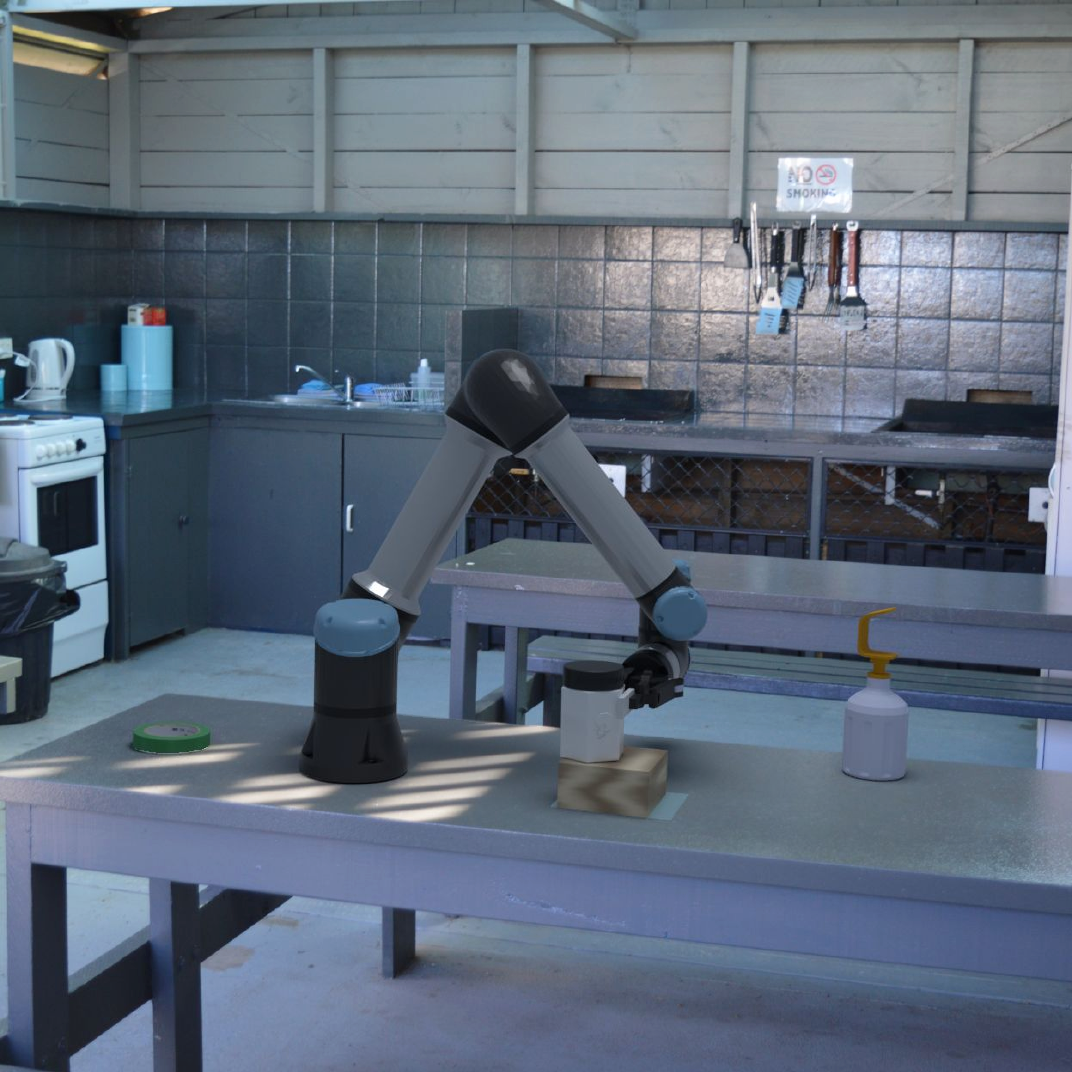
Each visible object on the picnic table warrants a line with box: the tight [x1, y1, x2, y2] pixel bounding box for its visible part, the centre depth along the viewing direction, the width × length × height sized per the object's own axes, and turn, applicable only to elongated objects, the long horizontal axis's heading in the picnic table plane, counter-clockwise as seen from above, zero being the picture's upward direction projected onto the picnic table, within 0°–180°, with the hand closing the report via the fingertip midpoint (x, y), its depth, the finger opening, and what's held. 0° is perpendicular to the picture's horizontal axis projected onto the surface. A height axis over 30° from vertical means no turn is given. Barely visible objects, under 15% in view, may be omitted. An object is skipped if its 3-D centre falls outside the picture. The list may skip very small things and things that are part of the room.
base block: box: [556, 745, 669, 819], centre depth 196 cm, size 12×12×6 cm
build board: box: [549, 791, 690, 822], centre depth 197 cm, size 16×13×1 cm
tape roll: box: [132, 721, 211, 753], centre depth 219 cm, size 11×11×3 cm
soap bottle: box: [841, 606, 910, 782], centre depth 215 cm, size 9×9×25 cm
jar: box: [559, 659, 625, 763], centre depth 195 cm, size 9×8×12 cm
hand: (611, 707), depth 192 cm, fingers open, 2 cm apart
